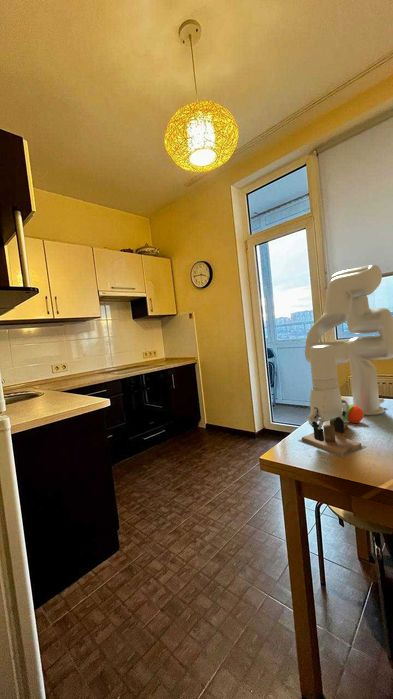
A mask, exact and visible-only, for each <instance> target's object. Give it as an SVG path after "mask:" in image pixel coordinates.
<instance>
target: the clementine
mask: <svg viewBox="0 0 393 699" xmlns="http://www.w3.org/2000/svg"><path fill="white" fill-rule="evenodd" d="M348 405H349V409H348V410H347V411H348V423H351V424H357V423H360V422H361V421H362V420H363V418H364V415H363V411H362V409H361V408H360V407H358V406H356V405H353V404H348Z"/></svg>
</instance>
